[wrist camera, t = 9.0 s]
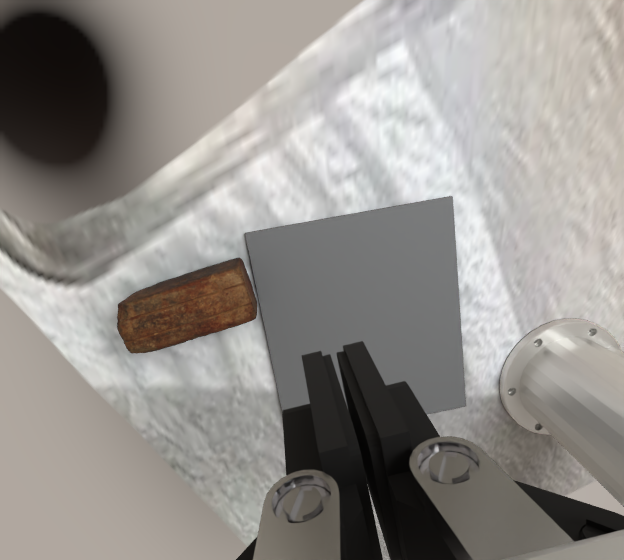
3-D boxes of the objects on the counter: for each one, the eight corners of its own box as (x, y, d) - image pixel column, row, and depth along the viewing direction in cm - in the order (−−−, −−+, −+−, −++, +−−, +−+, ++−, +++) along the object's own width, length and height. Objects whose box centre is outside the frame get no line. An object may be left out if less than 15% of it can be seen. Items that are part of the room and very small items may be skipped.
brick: (259, 304, 39) (241, 255, 37) (258, 320, 35) (239, 266, 34) (143, 340, 39) (121, 291, 37) (130, 360, 35) (105, 307, 33)
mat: (450, 196, 38) (452, 196, 38) (464, 404, 44) (466, 406, 44) (245, 232, 37) (245, 233, 37) (288, 440, 43) (288, 442, 43)
